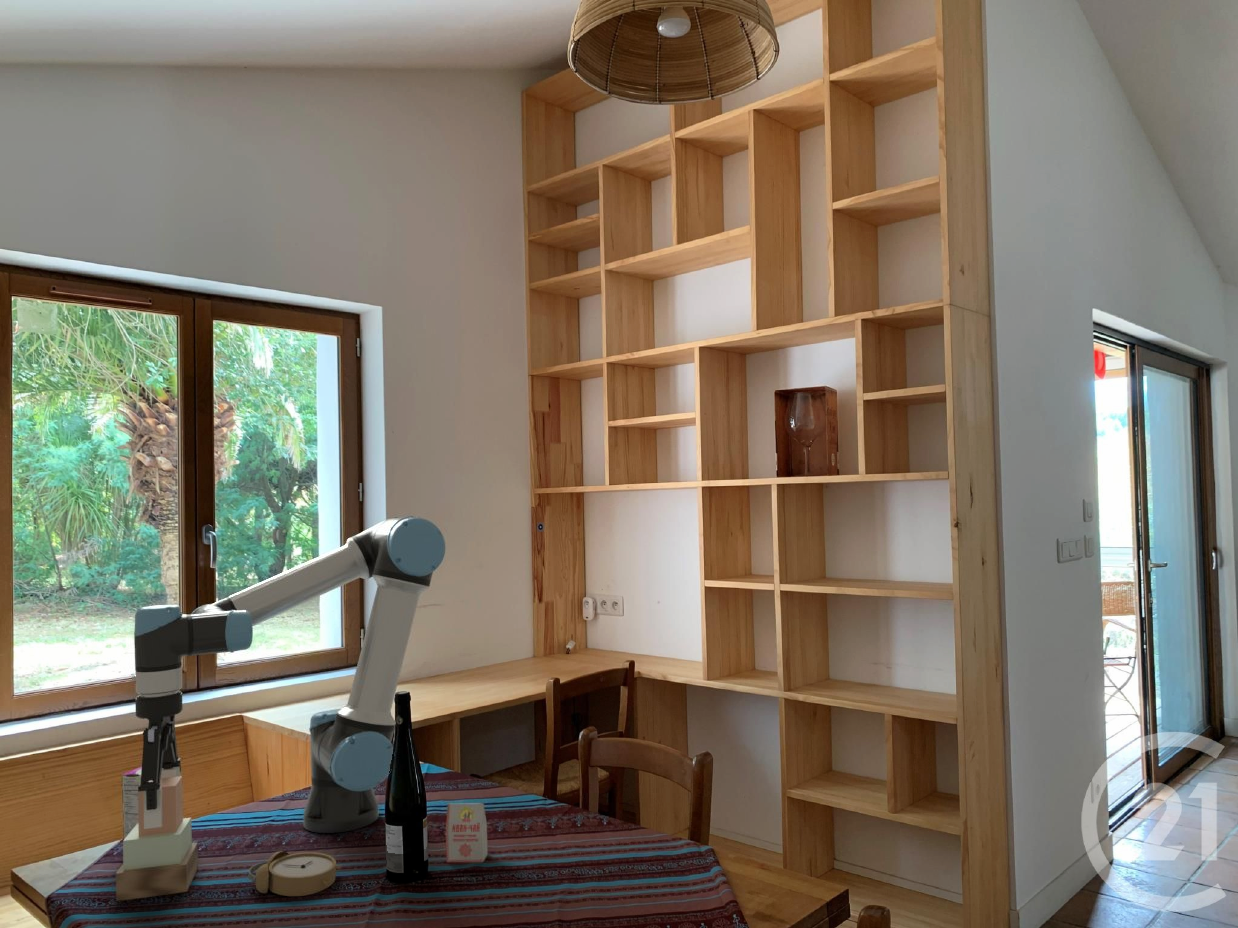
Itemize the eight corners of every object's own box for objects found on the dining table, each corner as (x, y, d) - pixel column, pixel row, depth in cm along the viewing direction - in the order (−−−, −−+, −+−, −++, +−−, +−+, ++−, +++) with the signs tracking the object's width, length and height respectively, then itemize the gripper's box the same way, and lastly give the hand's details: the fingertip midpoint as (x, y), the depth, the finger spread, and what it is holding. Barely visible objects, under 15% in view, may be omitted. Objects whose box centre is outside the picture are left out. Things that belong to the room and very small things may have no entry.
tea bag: (452, 854, 172) (450, 800, 172) (487, 854, 171) (485, 799, 171) (446, 862, 168) (445, 806, 168) (482, 862, 167) (481, 806, 168)
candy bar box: (162, 839, 185) (160, 756, 186) (184, 840, 184) (182, 757, 185) (121, 860, 174) (120, 773, 175) (144, 862, 173) (143, 774, 174)
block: (182, 820, 167) (182, 775, 167) (176, 831, 161) (175, 785, 162) (146, 824, 165) (145, 779, 166) (138, 836, 160) (137, 789, 160)
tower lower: (198, 869, 170) (197, 842, 170) (186, 893, 159) (186, 864, 159) (132, 878, 167) (131, 850, 167) (116, 903, 156) (115, 873, 156)
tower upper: (191, 845, 168) (191, 817, 169) (180, 863, 160) (179, 834, 160) (137, 851, 166) (137, 823, 166) (123, 870, 157) (123, 840, 158)
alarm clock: (325, 879, 155) (238, 865, 156) (320, 909, 155) (233, 895, 155) (346, 854, 166) (265, 841, 167) (342, 881, 166) (261, 868, 167)
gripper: (151, 682, 175) (152, 797, 174) (118, 708, 152) (120, 841, 151) (193, 678, 177) (195, 793, 176) (168, 704, 154) (170, 835, 153)
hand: (160, 815), depth 164 cm, fingers open, 11 cm apart
